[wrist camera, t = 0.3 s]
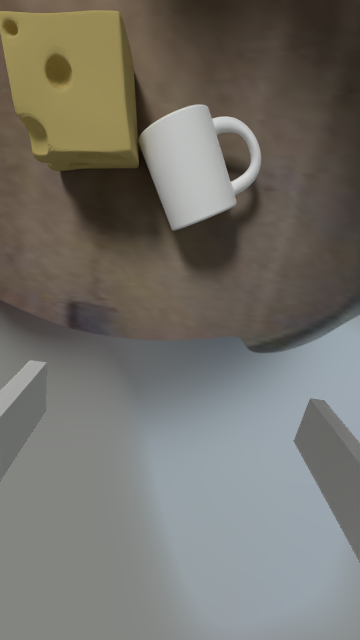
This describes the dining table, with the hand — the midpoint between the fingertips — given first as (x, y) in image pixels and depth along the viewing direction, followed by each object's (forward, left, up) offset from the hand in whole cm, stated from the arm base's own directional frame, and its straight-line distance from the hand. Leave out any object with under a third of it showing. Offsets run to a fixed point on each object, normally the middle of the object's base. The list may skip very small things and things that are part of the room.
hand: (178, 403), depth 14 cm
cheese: (-17, -12, -28) cm, 35 cm away
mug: (-14, +1, -28) cm, 31 cm away
